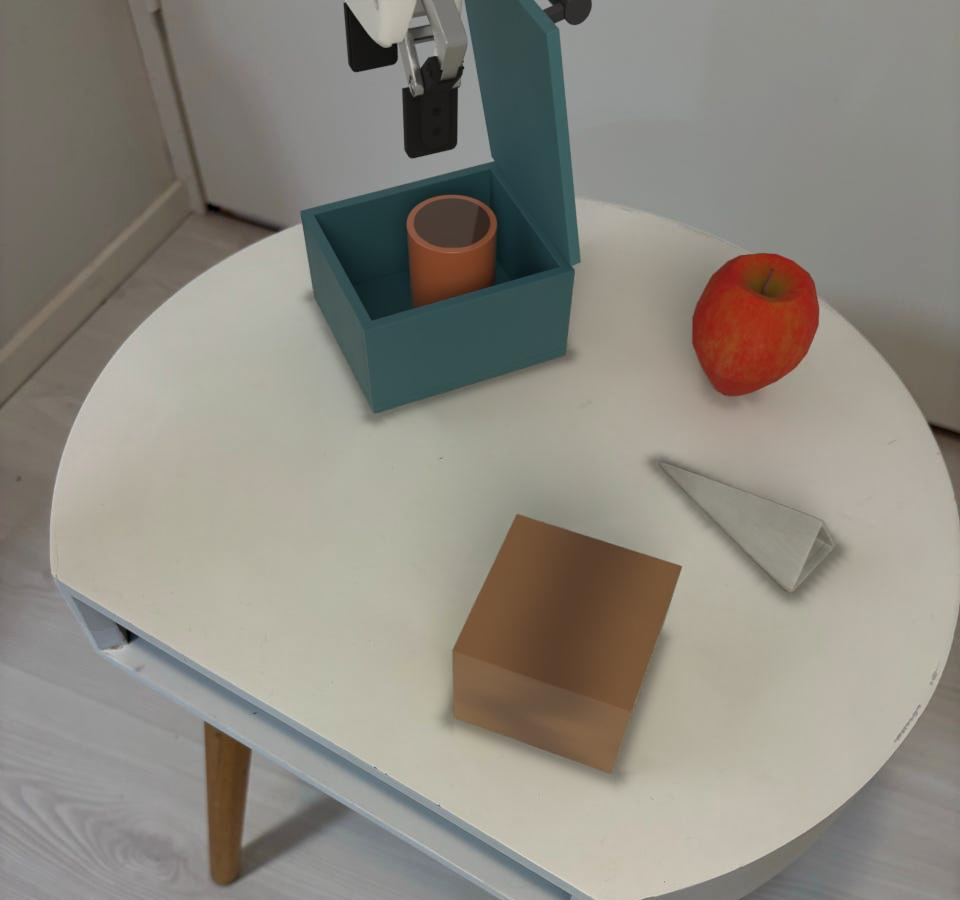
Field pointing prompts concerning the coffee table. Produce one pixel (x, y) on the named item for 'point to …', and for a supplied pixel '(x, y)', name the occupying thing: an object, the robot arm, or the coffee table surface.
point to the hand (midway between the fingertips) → (401, 107)
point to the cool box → (448, 323)
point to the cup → (450, 248)
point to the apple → (754, 322)
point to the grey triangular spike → (761, 527)
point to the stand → (561, 641)
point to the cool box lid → (529, 105)
